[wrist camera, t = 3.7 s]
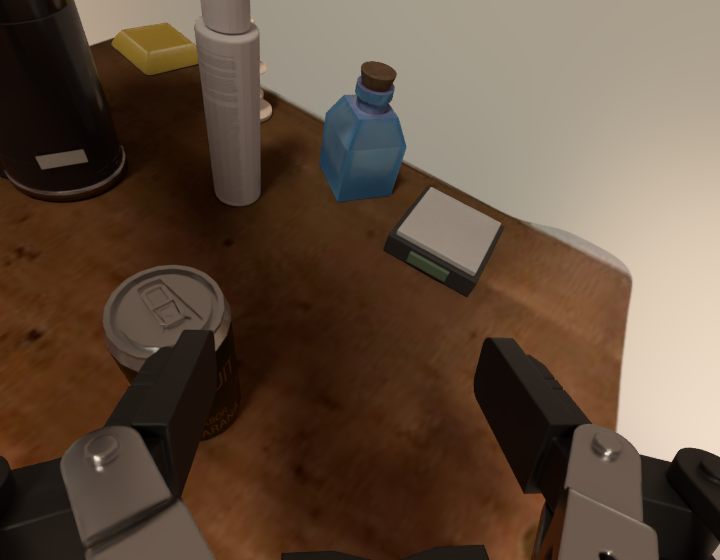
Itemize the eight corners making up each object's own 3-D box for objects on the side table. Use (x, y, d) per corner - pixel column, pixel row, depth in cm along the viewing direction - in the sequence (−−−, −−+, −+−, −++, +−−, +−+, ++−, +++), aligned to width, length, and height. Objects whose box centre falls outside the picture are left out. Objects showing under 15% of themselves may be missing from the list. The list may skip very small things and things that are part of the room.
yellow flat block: (104, 27, 50) (110, 44, 51) (143, 59, 47) (147, 77, 49) (170, 15, 54) (172, 32, 56) (208, 45, 52) (210, 61, 53)
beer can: (140, 397, 27) (74, 296, 17) (214, 353, 30) (191, 244, 20) (182, 464, 25) (132, 390, 16) (256, 410, 28) (253, 319, 18)
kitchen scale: (381, 252, 39) (388, 232, 36) (420, 202, 44) (428, 182, 42) (465, 299, 37) (478, 281, 35) (495, 241, 43) (507, 222, 41)
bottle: (263, 206, 39) (262, -45, 24) (215, 207, 38) (182, -56, 22) (258, 176, 42) (255, -69, 26) (213, 177, 40) (182, -81, 25)
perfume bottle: (337, 202, 42) (359, 90, 32) (319, 164, 45) (333, 52, 36) (390, 195, 44) (425, 89, 35) (369, 159, 47) (396, 53, 38)
